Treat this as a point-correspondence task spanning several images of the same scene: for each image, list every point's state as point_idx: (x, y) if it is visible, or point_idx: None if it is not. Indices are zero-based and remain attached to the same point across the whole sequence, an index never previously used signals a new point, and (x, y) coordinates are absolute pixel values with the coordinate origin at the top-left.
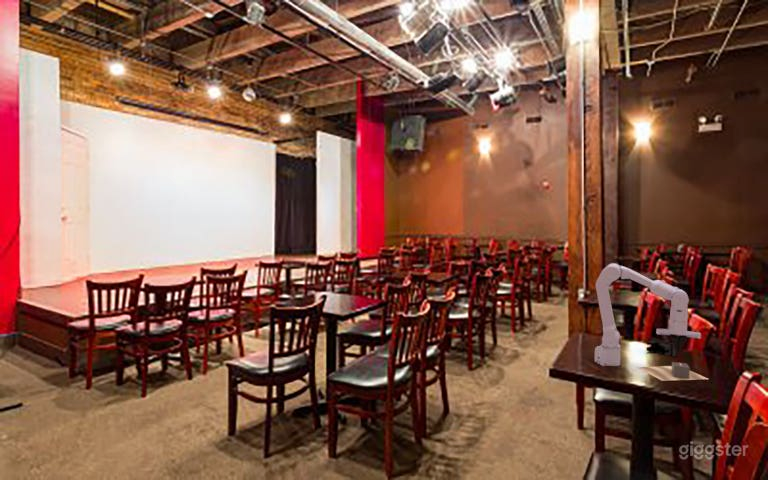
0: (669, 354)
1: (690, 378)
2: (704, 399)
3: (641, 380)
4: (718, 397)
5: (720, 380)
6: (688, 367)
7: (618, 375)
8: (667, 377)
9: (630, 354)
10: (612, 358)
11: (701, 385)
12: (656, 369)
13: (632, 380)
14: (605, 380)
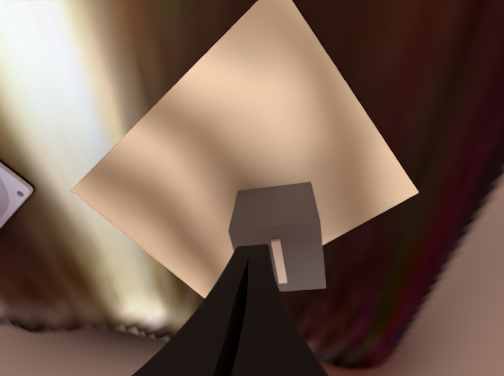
0: None
1: (323, 230)
2: (343, 347)
3: (145, 284)
4: (394, 319)
5: (500, 98)
6: (320, 288)
7: (61, 273)
8: (226, 263)
9: None
10: None
11: (363, 232)
12: (161, 175)
13: (121, 297)
14: (58, 329)
